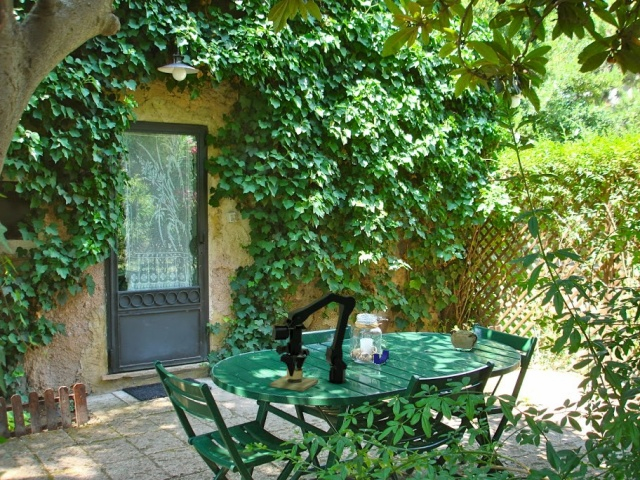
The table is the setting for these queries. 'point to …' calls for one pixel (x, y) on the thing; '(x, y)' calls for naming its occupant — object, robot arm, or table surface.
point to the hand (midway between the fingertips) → (294, 374)
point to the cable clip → (383, 358)
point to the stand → (294, 383)
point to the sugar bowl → (463, 338)
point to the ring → (296, 374)
